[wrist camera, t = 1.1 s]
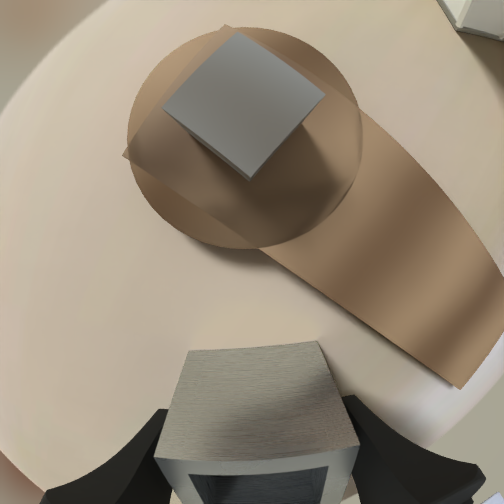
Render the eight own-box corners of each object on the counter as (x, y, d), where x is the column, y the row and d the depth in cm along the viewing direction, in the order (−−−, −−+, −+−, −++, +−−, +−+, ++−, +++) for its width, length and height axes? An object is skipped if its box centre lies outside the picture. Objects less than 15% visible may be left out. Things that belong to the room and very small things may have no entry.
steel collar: (316, 341, 12) (360, 444, 6) (312, 425, 13) (335, 514, 7) (188, 350, 12) (153, 456, 6) (209, 432, 13) (197, 523, 7)
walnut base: (510, 284, 11) (559, 308, 7) (437, 389, 13) (473, 433, 8) (222, 18, 9) (212, -50, 4) (107, 168, 10) (36, 162, 6)
